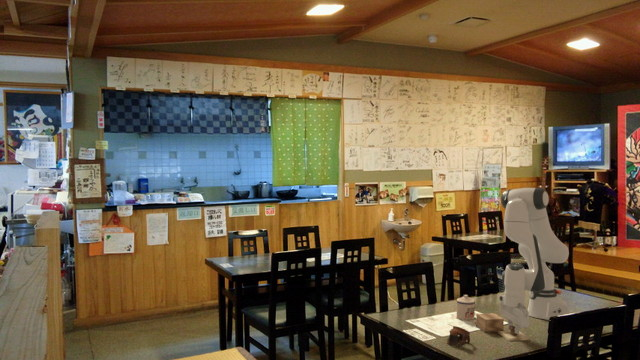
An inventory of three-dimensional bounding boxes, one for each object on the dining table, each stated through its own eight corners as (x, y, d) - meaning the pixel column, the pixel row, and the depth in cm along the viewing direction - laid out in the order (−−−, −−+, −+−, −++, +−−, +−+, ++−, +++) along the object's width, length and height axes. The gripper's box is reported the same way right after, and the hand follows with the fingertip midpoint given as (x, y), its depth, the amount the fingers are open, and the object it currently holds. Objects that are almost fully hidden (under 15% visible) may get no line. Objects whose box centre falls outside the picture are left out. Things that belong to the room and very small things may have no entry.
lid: (518, 333, 230) (518, 323, 230) (529, 341, 220) (529, 330, 220) (498, 334, 228) (498, 324, 228) (509, 341, 219) (509, 331, 219)
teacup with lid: (467, 322, 245) (467, 298, 244) (452, 317, 252) (452, 294, 252) (482, 318, 252) (482, 295, 251) (467, 313, 259) (467, 291, 259)
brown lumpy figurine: (441, 342, 218) (447, 324, 220) (460, 351, 219) (466, 333, 221) (454, 344, 206) (461, 325, 209) (474, 354, 207) (480, 334, 210)
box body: (494, 325, 240) (494, 313, 239) (503, 332, 230) (504, 319, 230) (475, 326, 238) (476, 313, 238) (484, 332, 229) (485, 319, 229)
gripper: (533, 307, 214) (533, 339, 214) (509, 294, 234) (509, 324, 235) (520, 307, 213) (519, 339, 213) (496, 295, 233) (496, 324, 234)
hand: (513, 331), depth 224 cm, fingers closed on lid, 3 cm apart
